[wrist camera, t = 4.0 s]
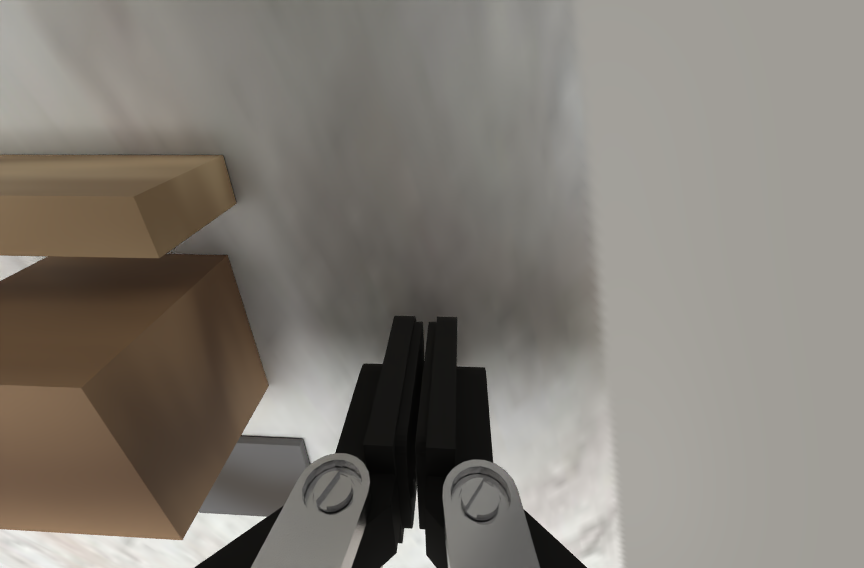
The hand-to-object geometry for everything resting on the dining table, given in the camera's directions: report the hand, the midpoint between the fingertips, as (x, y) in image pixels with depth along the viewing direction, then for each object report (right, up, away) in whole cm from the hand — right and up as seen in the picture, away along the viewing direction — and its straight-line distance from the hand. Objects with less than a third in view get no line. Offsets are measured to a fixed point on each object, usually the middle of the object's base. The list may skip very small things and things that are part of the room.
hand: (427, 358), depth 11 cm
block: (-8, +1, +2) cm, 8 cm away
